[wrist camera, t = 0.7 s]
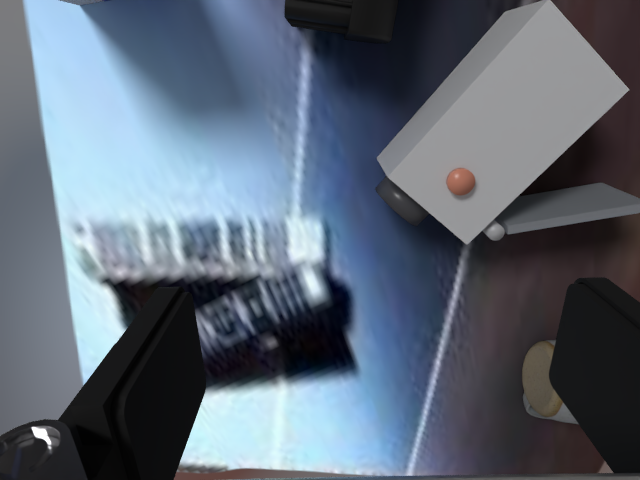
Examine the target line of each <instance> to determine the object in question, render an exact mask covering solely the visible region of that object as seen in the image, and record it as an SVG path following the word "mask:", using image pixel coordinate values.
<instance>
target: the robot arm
mask: <svg viewBox="0 0 640 480" xmlns="http://www.w3.org/2000/svg"><path fill="white" fill-rule="evenodd" d="M549 380H550V383H551V386H552V387H553V389H554V390H555V392H556V393H557V394H558V396H559V397H560V399H561V400H562V401H563V403H564V404H565V406H566V407H567V408H568V410H569V411H570V413H571V414H572V415H573V417H574V418H575V420H576V421H577V422H578V424H579V425H580V427H581V428H582V429H583V431H584V432H585V433H586V435H587V436H588V438H589V439H590V440H591V442H592V443H593V445H594V446H595V447H596V449H597V450H598V452H599V453H600V454H601V456H602V457H603V459H604V460H605V461H606V462H607V464H608V466H609V467H610V468H611V470H612V471H613V472H614V473H593V474H503V475H435V476H374V477H328V478H285V479H284V478H280V479H235V480H640V302H638V301H637V300H636V299H634V298H633V297H631V296H630V295H629V294H627V293H626V292H625V291H623V290H622V289H621V288H619V287H618V286H617V285H615V284H614V283H613V282H611V281H610V280H609V279H607V278H579V279H577V280H576V281H575V282H574V284H571V285H569V287H568V289H567V293H566V297H565V302H564V306H563V311H562V315H561V320H560V324H559V329H558V333H557V338H556V342H555V347H554V351H553V356H552V360H551V365H550V369H549ZM205 389H206V377H205V370H204V364H203V358H202V352H201V346H200V340H199V334H198V328H197V322H196V316H195V309H194V303H193V298H192V295H191V293H190V292H185V291H184V289H183V288H182V287H159V288H157V289H156V291H155V292H154V293H153V295H152V296H151V297H150V299H149V300H148V301H147V303H146V304H145V305H144V307H143V308H142V309H141V311H140V312H139V313H138V315H137V316H136V317H135V319H134V320H133V322H132V323H131V324H130V326H129V327H128V328H127V330H126V331H125V332H124V334H123V335H122V336H121V338H120V339H119V340H118V342H117V343H116V344H115V345H114V346H113V347H112V348H111V350H110V351H109V353H108V354H107V355H106V357H105V358H104V359H103V361H102V362H101V363H100V365H99V366H98V367H97V369H96V370H95V371H94V373H93V374H92V375H91V377H90V378H89V379H88V381H87V382H86V383H85V385H84V386H83V387H82V389H81V390H80V391H79V393H78V394H77V395H76V397H75V398H74V400H73V401H72V402H71V403H70V405H69V406H68V407H67V409H66V410H65V411H64V413H63V414H62V415H61V417H60V418H59V419H58V420H48V419H44V420H38V421H32V422H29V423H26V424H23V425H21V426H18V427H16V428H14V429H12V430H10V431H8V432H6V433H4V434H2V435H1V436H0V480H174V477H175V474H176V471H177V469H178V466H179V463H180V460H181V457H182V455H183V452H184V449H185V446H186V444H187V441H188V438H189V435H190V432H191V430H192V427H193V424H194V421H195V419H196V416H197V413H198V410H199V407H200V405H201V402H202V399H203V396H204V393H205Z"/></svg>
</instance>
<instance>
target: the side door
mask: <svg viewBox="0 0 640 480" xmlns="http://www.w3.org/2000/svg"><path fill="white" fill-rule="evenodd" d="M635 213H640V199H639V198H637V197H635V196H632V195H630V194H628V193H625V192H623V191H620V190H618V189H616V188H613V187H611V186H609V185H606V184H604V183H595V184H589V185H583V186H578V187H572V188H566V189H560V190H554V191H548V192H542V193H537V194H531V195H525V196H519V197H517V198H516V199H514V200H513V201H512V202H511V203H510V204H509V205H508V206H507V207H506V208H505V209H504V210H503V211H502V212H501V213H500V214H499V215H498V216H497V217H496V218H495V219H494V220H493V221H491V222H490V223H489V224H488V225H487V226H486V227H485V228H484V229H483V230H482V231H483V232H484V233H485V234H486V235H487V236H488V237H489V238H490V239H491V240H494V241H497V240H500V239H501V238H502V237H503V236H504V234H505V232H506V233H507V234H514V233H520V232H526V231H532V230H538V229H544V228H550V227H556V226H562V225H568V224H575V223H581V222H587V221H593V220H599V219H605V218H611V217H617V216H623V215H629V214H635Z"/></svg>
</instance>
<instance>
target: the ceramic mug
mask: <svg viewBox="0 0 640 480" xmlns="http://www.w3.org/2000/svg"><path fill="white" fill-rule="evenodd" d="M555 342H556V340H546V341H540V342H538V343H536V344H534V345H533V346H532V347H531V348H530V349H529V351H528V353H527V354H526V356H525V359H524V364H523V369H522V381H523V388H524V395H523V402H524V406H525V409H526V411H527V412H528V413H529V414H530V415H532V416H535V417H539V418H543V419H553V420H556V421H561V422H566V423H574V424H578V422H577V421H576V420H575V418H574V417H573V415H572V414H571V413H570V411H569V410H568V408H567V407H566V406H565V404H564V403H563V401H562V400H561V399H560V397H559V396H558V394H557V393H556V392H555V390H554V389H553V387H552V386H551V383H550V380H549V369H550V365H551V360H552V356H553V351H554V347H555Z"/></svg>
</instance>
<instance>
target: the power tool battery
mask: <svg viewBox="0 0 640 480" xmlns="http://www.w3.org/2000/svg"><path fill="white" fill-rule="evenodd" d="M397 6H398V0H285V18H286V19H287V21H288V22H289V23H290V25H291V26H293V27H300V28H307V29H313V30H320V31H327V32H334V33H340V34H344V39H345V40H352V41H360V42H369V43H388V42H390V41H391V39H392V33H393V28H394V22H395V17H396V11H397Z"/></svg>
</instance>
